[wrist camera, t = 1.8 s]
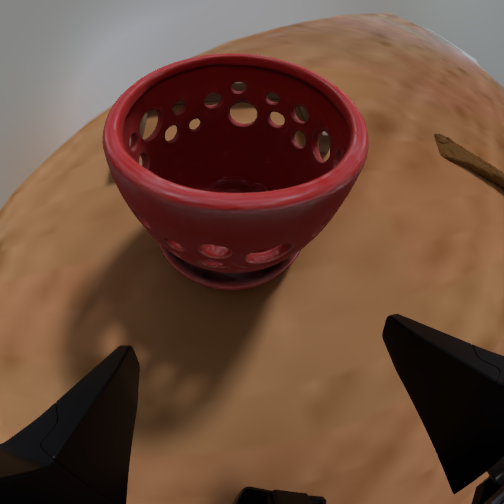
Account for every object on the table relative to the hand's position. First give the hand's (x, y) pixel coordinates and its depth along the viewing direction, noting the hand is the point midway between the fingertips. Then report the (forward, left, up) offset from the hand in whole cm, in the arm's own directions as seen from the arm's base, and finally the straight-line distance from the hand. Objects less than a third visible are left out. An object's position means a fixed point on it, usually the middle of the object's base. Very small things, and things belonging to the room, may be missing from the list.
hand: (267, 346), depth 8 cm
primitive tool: (+32, -27, -11) cm, 43 cm away
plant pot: (+10, +5, -10) cm, 15 cm away
